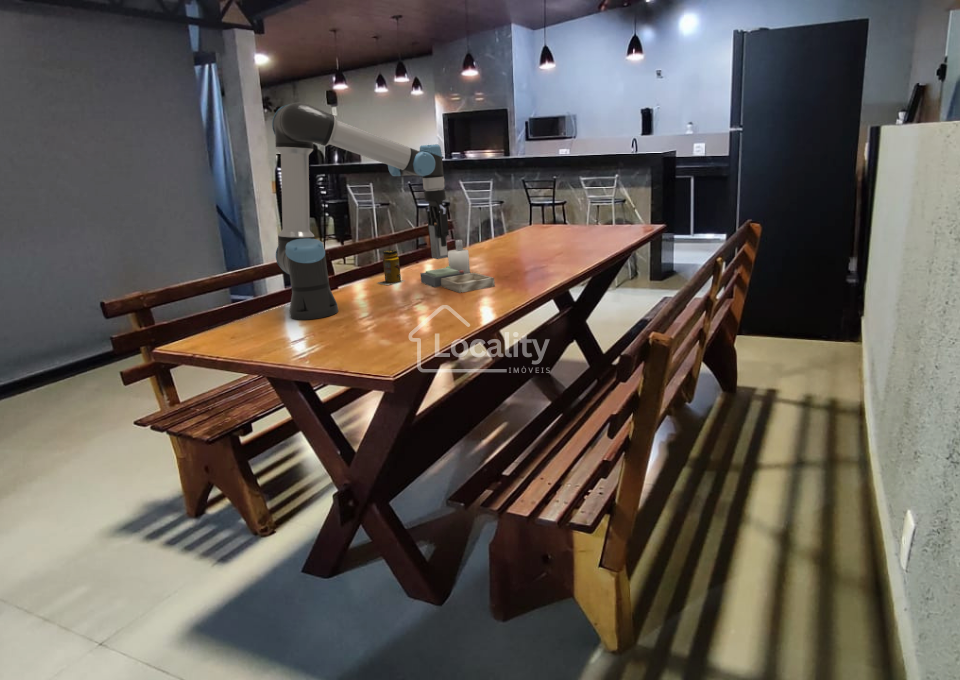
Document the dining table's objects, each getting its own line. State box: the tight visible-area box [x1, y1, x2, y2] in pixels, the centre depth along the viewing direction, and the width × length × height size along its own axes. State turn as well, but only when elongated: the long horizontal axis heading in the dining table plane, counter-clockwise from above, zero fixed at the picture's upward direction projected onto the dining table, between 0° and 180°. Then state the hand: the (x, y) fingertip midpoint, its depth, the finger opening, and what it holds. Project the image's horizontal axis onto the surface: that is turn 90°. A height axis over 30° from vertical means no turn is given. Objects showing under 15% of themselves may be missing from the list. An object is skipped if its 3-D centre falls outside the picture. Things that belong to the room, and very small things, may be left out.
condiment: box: [377, 249, 405, 286], centre depth 254 cm, size 7×8×12 cm
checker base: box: [420, 265, 464, 288], centre depth 248 cm, size 12×12×4 cm
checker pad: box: [425, 267, 458, 277], centre depth 248 cm, size 9×9×2 cm
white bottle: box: [447, 239, 471, 274], centre depth 260 cm, size 8×8×13 cm
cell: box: [428, 222, 449, 260], centre depth 244 cm, size 4×4×13 cm
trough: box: [440, 272, 496, 294], centre depth 238 cm, size 14×14×3 cm
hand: (440, 254), depth 246 cm, fingers closed on cell, 4 cm apart
